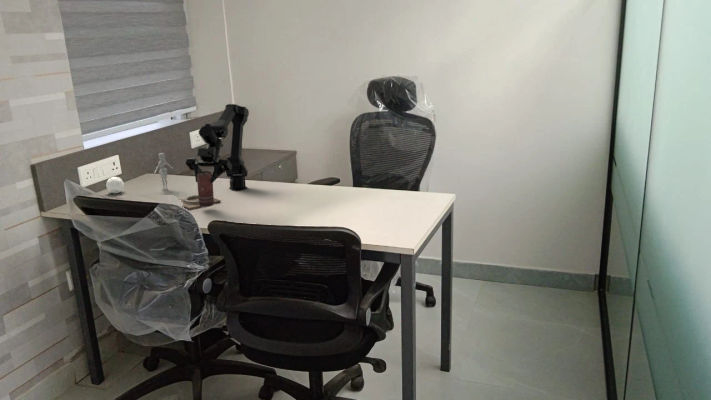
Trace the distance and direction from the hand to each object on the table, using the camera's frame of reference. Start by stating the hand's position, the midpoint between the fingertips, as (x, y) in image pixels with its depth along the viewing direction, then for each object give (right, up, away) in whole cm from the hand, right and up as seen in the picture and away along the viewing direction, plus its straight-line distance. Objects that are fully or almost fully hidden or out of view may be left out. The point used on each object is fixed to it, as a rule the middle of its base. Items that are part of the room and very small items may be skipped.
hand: (204, 182), depth 231 cm
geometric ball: (-51, -4, +34) cm, 61 cm away
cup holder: (-7, -8, +15) cm, 19 cm away
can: (0, -10, +4) cm, 11 cm away
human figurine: (-28, -3, +36) cm, 46 cm away
